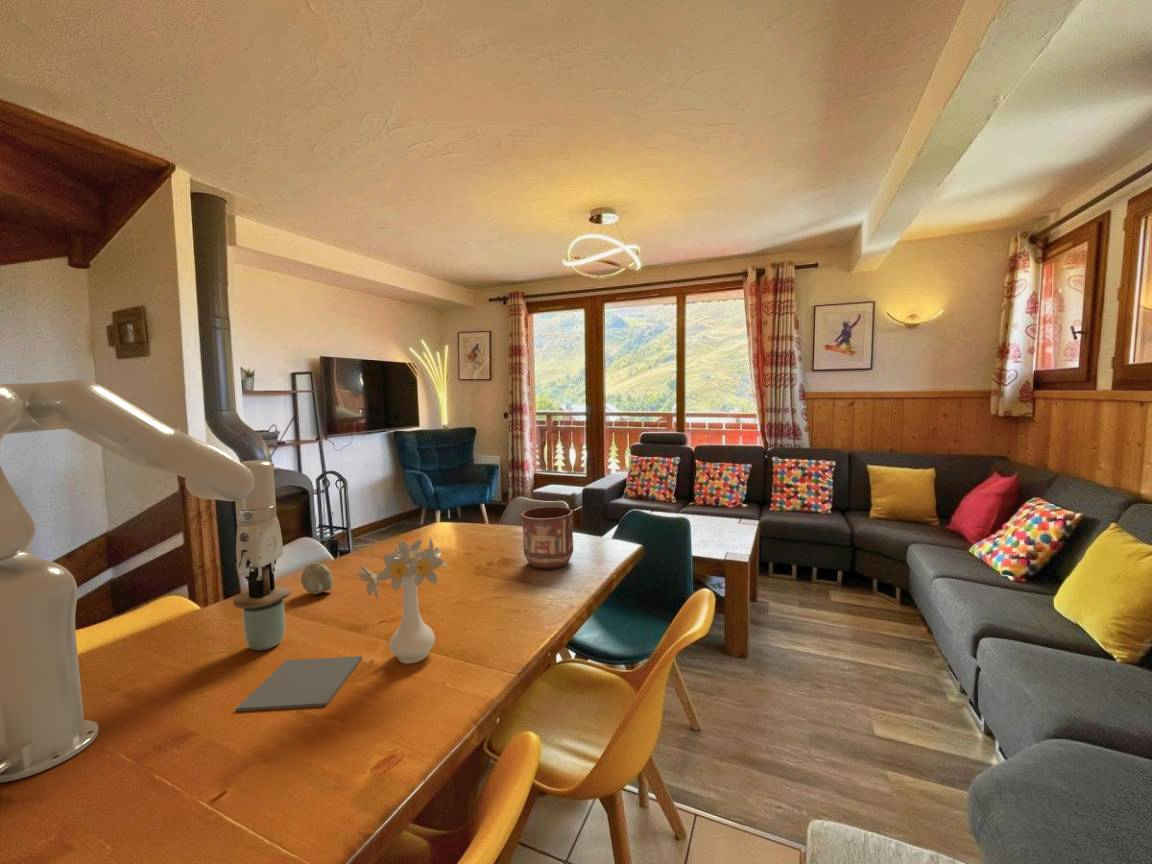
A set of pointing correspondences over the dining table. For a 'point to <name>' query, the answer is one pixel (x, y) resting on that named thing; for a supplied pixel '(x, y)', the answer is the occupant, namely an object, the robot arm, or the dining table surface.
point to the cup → (264, 625)
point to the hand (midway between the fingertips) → (262, 592)
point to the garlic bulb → (317, 578)
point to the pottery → (548, 536)
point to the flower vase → (408, 597)
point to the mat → (301, 684)
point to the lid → (270, 596)
